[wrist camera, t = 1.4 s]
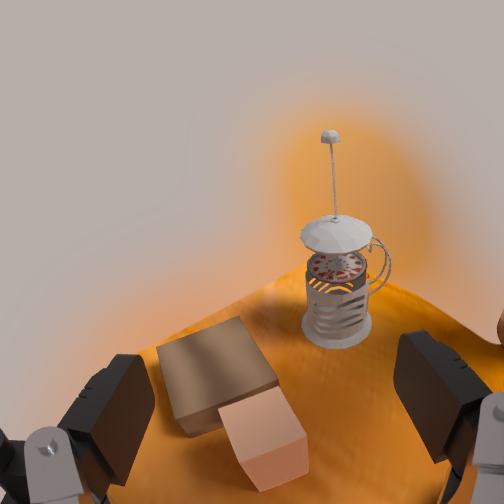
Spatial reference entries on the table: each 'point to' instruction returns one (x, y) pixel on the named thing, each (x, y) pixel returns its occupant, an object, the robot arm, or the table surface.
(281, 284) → the table surface
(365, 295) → the french press
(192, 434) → the walnut block
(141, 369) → the robot arm
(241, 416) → the terracotta block
